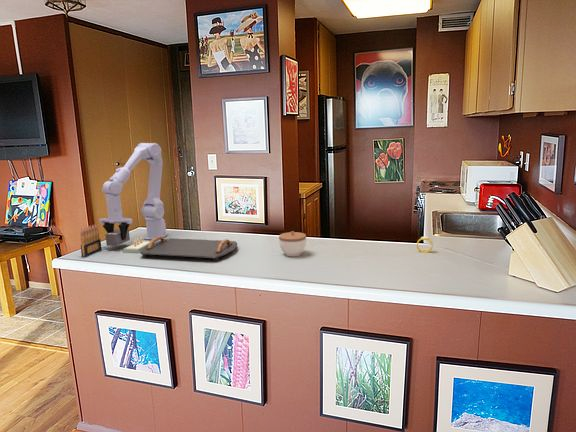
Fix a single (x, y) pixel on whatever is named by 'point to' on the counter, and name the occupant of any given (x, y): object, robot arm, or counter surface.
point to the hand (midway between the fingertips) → (118, 239)
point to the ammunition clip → (90, 241)
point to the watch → (425, 239)
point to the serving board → (189, 248)
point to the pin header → (136, 246)
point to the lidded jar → (292, 243)
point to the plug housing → (116, 238)
